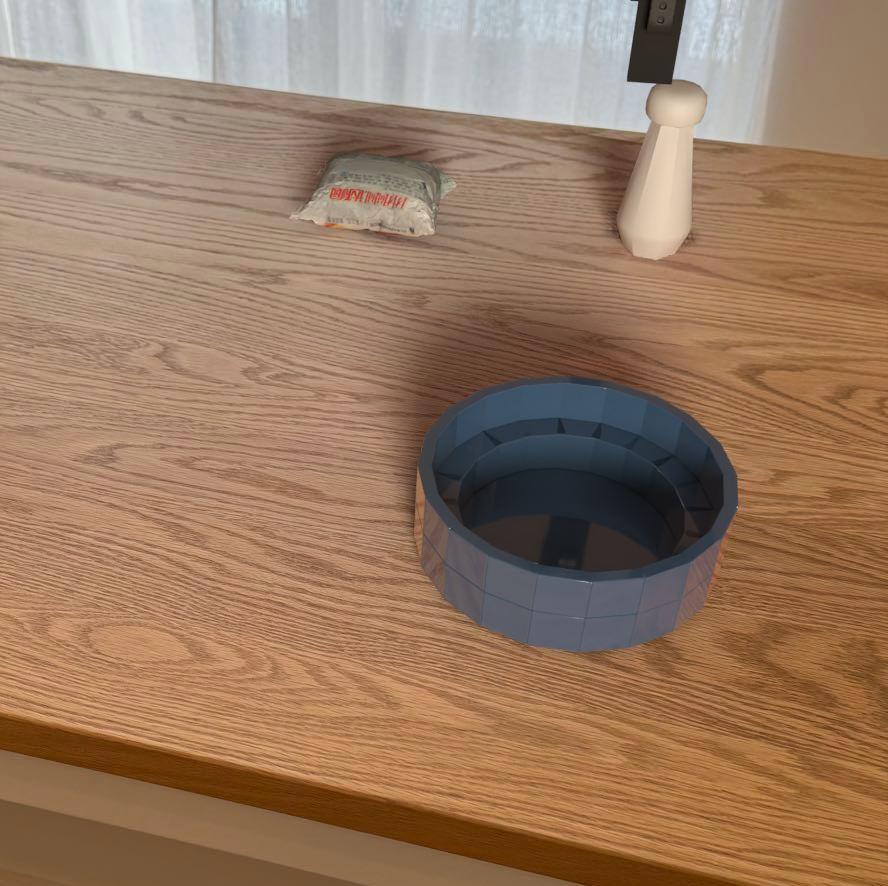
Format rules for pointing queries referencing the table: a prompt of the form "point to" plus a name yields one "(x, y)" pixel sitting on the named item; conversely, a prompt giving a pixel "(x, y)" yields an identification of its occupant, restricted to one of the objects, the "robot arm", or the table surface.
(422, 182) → the packaged food
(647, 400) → the bowl
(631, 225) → the cream pestle
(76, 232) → the table surface
